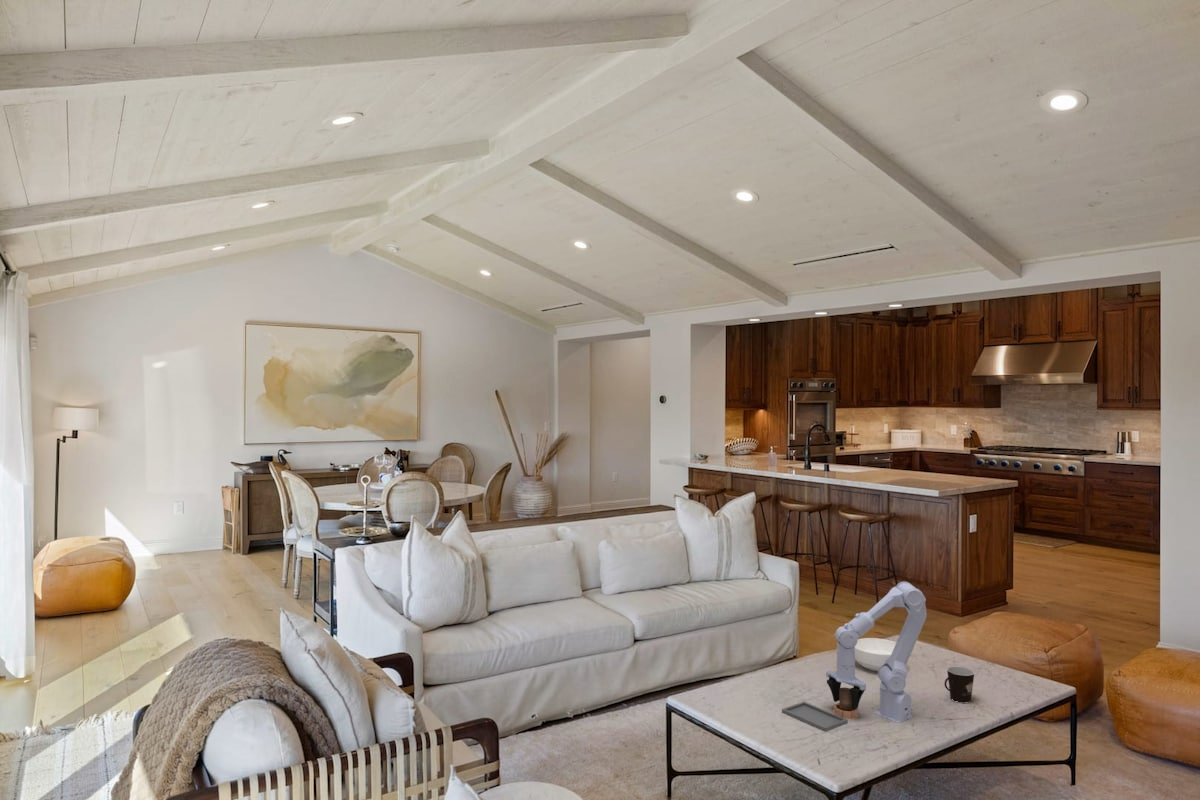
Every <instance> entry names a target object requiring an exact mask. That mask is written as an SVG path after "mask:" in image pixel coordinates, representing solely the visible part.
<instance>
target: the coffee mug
mask: <svg viewBox="0 0 1200 800" xmlns="http://www.w3.org/2000/svg"><path fill="white" fill-rule="evenodd" d="M946 670H947V677H946V679H945V680H944V687H945V688H946V690H947V691H948V692H949V696H950V700H951V699H953V700H954V701H953V700H952V701H953V702H955V701H958V702H969V701H971V700H972V694H973V689H974V688H973V686H974V681H975V671H974V670H972V669H970V668H966V667H962V666H948V668H947V669H946ZM947 682H948V686H947ZM958 702H957V703H958ZM971 702H972V701H971Z"/></svg>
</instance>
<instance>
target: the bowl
mask: <svg viewBox="0 0 1200 800" xmlns="http://www.w3.org/2000/svg"><path fill="white" fill-rule="evenodd" d="M896 642H897V641H893V640H890V639H886V638H880V637H879V638H877V637H864V638H863V637H862V638H858V641H857V644H856V646H855V662H857V663H858V664H859V665H860V666H862V667H863V668H865V669H866V670H871V671H873V672H878V670H879V668H880V667H881V666H882V665H883V664H884V663H885V660H886V659H887V658H889V657H890V656H891V654H892V652H893V649H894V647H895V645H896Z"/></svg>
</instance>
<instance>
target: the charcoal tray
mask: <svg viewBox="0 0 1200 800" xmlns="http://www.w3.org/2000/svg"><path fill="white" fill-rule="evenodd" d="M781 713H782V714H784V715H786V716H789V717H791V718H794V720H795V719H796V720H798V721H800V722H803V723H804V724H807V725H808V726H811V727H814V728H816V729H818V730H820V731H822V732H824V733H825V732H829V731H831V730H834V729H836V728H839V727H841V726H844V725H846V724H848V721H849V719H845V718H842V717H840V716H838V715H835V714H833V712H830V711H827V710H825V709H823V708H821V707H818V706H816V705H813V704H811V703H809V702H806V701H801V702H798V703H796V704H792V705H789V706H787V707H784V708H782V709H781Z"/></svg>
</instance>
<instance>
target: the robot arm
mask: <svg viewBox="0 0 1200 800" xmlns="http://www.w3.org/2000/svg"><path fill="white" fill-rule="evenodd" d="M926 600H927V599H926V596H925V595H924V593H923V592H922V591H921V590H920V589H919V588H916V587H915V586H914V585H913V584H912V583H910V582H908V581H900V582H899V583H897V584H896V586H893V587H891V588H890V590H889V591H888V593H887V594H886V595H884V596H883V598H881V599H880V600H879V601H878V602H877V603H875V605H874V606H872V608H870V609H869V610H867V612H865V611H863V612H860V613H858V612H857V613H856V614H855V617H853V618H852V619H851V620H850V621H849V622H848V623H847V622H846V623H844V625H842V626H839V627H838V628H837V629H836V631H835V633H834V634H833V635H834V638H835V640H836V641H837V642H836V671H834V670H830V669H829V670H827V671H826V670H825V671H826V672H825V674H826V678H827V679H826V684H827V685H828V687H829V690H830V691H831V696H832V698H833V702H834V703H836V702H839V689H840V688H842V687H841V686H842V683H843V684H846V685H849V686H852V687H849V688H850V689H849V690H850V693H851V698H852V709H858V708H859V705H860V701H861V699H862V696H863V694H864V692H865V691H866V690H867V683H866V682H864V681H862V680H860V679H859V678H857V677H856V675H855V674H856V673H855V672H856V670H855V668H856V664H855V663H856V659H855V646H856V644H857V641H858V639H861V637H862V636H864V635H865V634H866V633H867V632H869V631H870V630H871V629H873V628H874V626H875V621H876V620H878V619H879V618H880V617H882V616H883V615H884V614H886V613H887V612H889V611H890V610H892V609H893V608H905V609H906V611H907V614H908V615H907V616H906V618H905V620H904V623H903V626H902V629H901V631H900V633H899V636H898V638H897V640H896V641H895V642H896V645H895V647H894V649H893V652H892V654H891V656H890V657H889V658H887V659H886V660H885V663H884V664H883V665H882V666H881V667H880V668H879V670H878V671H877V676H878V678H879V680H880V685H879V710H877V711H874V713H873V714H874V715H876V716H877V715H878V716H879V717H882V718H885V719H887V720H890V721H893V722H894V723H898V724H900V723H903V722H905V721H908V720H910V719H913V718H914V716H913V715H912V697H911V695H910V694H908V693H906V691H904V689H905V687H906V684H907V683H906V677H907V674H908V671H907V669H908V668H907V664H908V662H909V660H910V657H911V655H912V652H913V650H914V648H915V645H916V643H917V641H918V639H919V636H920V633H921V631H922V629H923V626H924V624H925V622H926V620H927V615H928V614H927V613H928V612H927V607H926V606H927V605H926Z"/></svg>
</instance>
